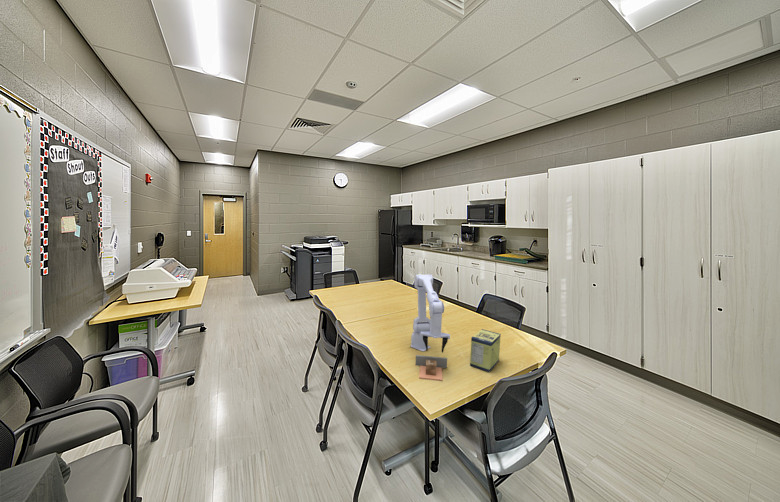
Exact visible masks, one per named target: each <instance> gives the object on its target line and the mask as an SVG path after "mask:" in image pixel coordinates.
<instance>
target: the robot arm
mask: <svg viewBox="0 0 780 502" xmlns="http://www.w3.org/2000/svg"><path fill="white" fill-rule="evenodd" d="M413 278H414V288H415V289H416V290H417V315H418V316H417V317H416V318H414V319H413V322H412V324H413V325H412V329H413V332H412V333H411V337H410V339H411V340H410V341H411V343H410V347H411V348H412V349H416V350H418V351H421V352H428V351H429V349H431V348H432V347H431V346H430V345H428V344H429V338H433V339H438V338H439V339H441V341H442V342H441V343H442V345H441V353H444V350H445V347H446V345H447V344H448V341H449V340H451V334H450V333H444V332H442V324H443V323H442V321H443V320H442V319H443V316H442V315H443V314H444V313H445V305H444V302H443V301H442V300H440V298H439V295H438V294H437V293H438V292H437V291H434V288H433V284H434V276H433V275H432V273H430V274H417V273H416V274H415V275H414V277H413ZM427 302H428V311H429V317H430V318H429V317H427Z"/></svg>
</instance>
